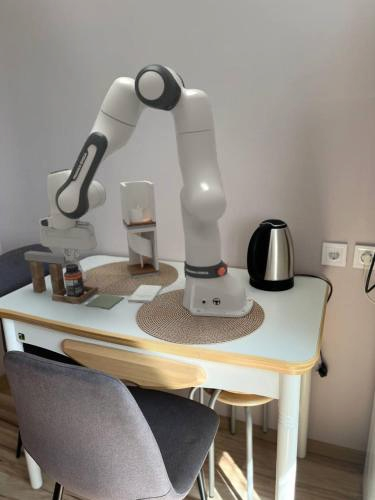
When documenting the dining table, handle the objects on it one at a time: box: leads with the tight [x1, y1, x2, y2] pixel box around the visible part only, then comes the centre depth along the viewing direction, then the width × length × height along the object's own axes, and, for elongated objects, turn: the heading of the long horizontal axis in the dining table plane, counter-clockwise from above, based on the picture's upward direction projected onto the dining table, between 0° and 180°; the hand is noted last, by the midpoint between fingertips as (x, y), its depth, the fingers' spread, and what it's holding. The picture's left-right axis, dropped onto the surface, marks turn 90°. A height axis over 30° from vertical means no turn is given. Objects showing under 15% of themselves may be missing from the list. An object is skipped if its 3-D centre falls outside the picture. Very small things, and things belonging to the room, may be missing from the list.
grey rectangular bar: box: [23, 250, 72, 265], centre depth 137 cm, size 17×3×2 cm, turn 68°
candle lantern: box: [119, 180, 160, 280], centre depth 152 cm, size 11×11×35 cm
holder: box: [28, 260, 100, 306], centre depth 137 cm, size 22×11×12 cm, turn 68°
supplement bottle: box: [63, 263, 86, 298], centre depth 135 cm, size 6×6×11 cm
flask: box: [71, 253, 88, 283], centre depth 150 cm, size 7×7×10 cm
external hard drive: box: [127, 284, 163, 304], centre depth 136 cm, size 2×8×12 cm
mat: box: [85, 293, 125, 310], centre depth 131 cm, size 9×9×1 cm
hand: (70, 260), depth 133 cm, fingers closed
